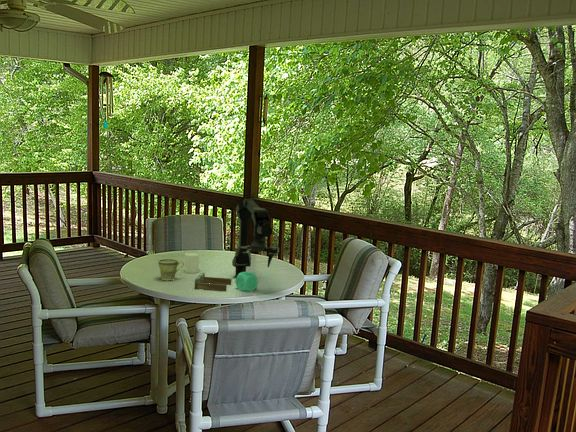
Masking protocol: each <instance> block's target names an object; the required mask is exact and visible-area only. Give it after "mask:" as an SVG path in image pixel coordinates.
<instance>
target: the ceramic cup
mask: <svg viewBox="0 0 576 432" xmlns="http://www.w3.org/2000/svg"><path fill="white" fill-rule="evenodd" d="M157 262H158V267H159V272H160V278H161V281H163V280H172V281H174V280H175V277H176V274H177V272H179V271H180V269H181V268H183V267H185V262H183V261H179V260H178V259H176V258H161V259H158V261H157ZM179 264H182V266H181V267H179V268H177V267H178V266H179ZM173 279H174V280H173Z"/></svg>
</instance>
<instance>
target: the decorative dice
mask: <svg viewBox="0 0 576 432" xmlns="http://www.w3.org/2000/svg"><path fill="white" fill-rule="evenodd" d="M258 282H259V280H258V277H257V275H256V274H255V273H254V272H252V271H246V272H241V273H239V274H238V275H237V277H236V278H235V285H236V288H237V290H239V291H240V292H254V290H255V289H257V286H258V284H259V283H258Z"/></svg>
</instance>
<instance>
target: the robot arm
mask: <svg viewBox="0 0 576 432" xmlns="http://www.w3.org/2000/svg"><path fill="white" fill-rule="evenodd" d="M235 213H236V217H237V219H238V222H239V224H238V225H239V227H238V248H237V249H236V250H235V253H234V256H233V259H232V262H231V265H232V266H233V267H234V268H235V273H234V276H233V279H236V277H237V275H238V274H239V273H241V272H247V267H251V266H252V265H251V264H252V257H251V256H252V255H251V252H252V253H253V252H257V253H260V252H268V258H267V268H270V266H271V262H272V259H273V257H274V256H275V255H277V254H279V253H280V247H279V246H270V247H267V243H266V238H269V237H271V236H272V235H273V231H274V230H273V228H272V226H271V225H270V224H271V221H272V220H271V217H270V214H269V212H268V210H267V209H266V208H264V207H263V208H262V207H260V206H259V205H258V204H257V203H256V202H255V199H252V198H244V199H243V201H241V202H238V204H237V205H236V207H235ZM251 219H252V222H253V239H252V242H251V244H250V245H248V240H249V239H248V236H249V235H248V234H249V221H251Z"/></svg>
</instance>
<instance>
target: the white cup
mask: <svg viewBox="0 0 576 432" xmlns="http://www.w3.org/2000/svg"><path fill="white" fill-rule="evenodd" d="M199 264H200V254H199V253H198V252H197V253H196V252H186V253H184V267H185V273H186V272H187V274H196V273H198V272H199Z"/></svg>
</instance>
